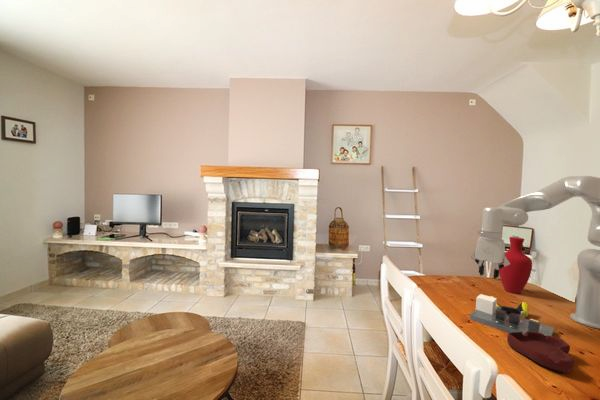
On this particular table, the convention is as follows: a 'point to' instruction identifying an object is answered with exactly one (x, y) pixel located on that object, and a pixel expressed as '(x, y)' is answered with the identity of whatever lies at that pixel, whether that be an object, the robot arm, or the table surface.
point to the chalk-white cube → (486, 304)
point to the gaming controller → (521, 309)
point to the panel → (508, 322)
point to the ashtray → (543, 350)
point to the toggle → (534, 325)
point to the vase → (515, 267)
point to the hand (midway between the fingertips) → (488, 276)
